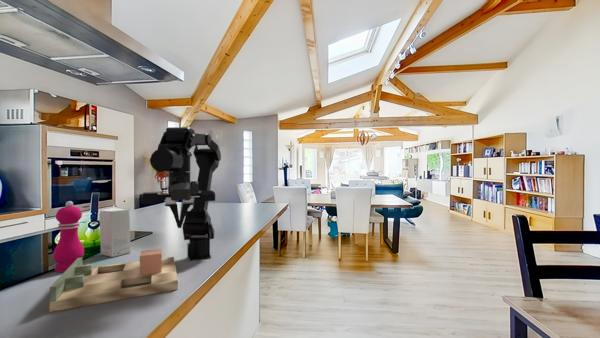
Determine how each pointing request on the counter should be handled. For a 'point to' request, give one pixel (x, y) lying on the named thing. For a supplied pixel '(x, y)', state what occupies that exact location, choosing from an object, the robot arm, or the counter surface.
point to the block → (150, 262)
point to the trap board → (108, 283)
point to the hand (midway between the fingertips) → (179, 227)
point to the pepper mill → (68, 237)
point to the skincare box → (115, 232)
